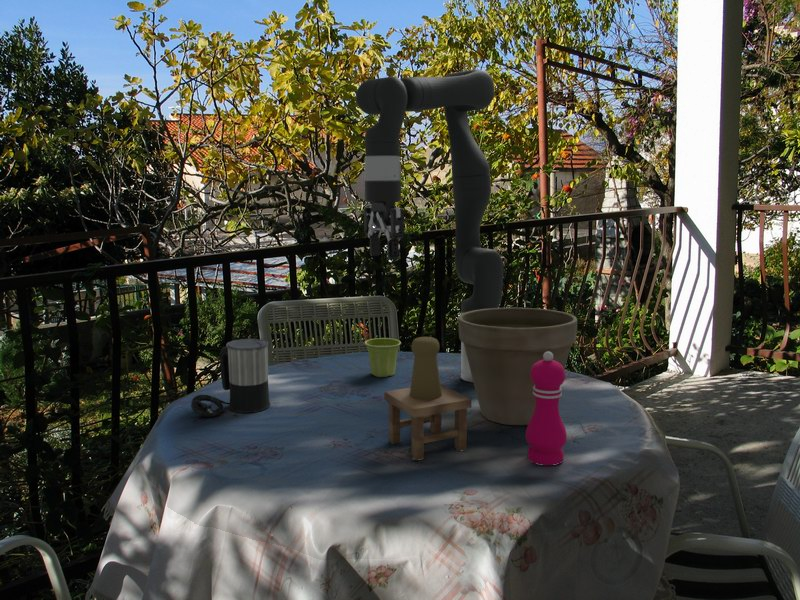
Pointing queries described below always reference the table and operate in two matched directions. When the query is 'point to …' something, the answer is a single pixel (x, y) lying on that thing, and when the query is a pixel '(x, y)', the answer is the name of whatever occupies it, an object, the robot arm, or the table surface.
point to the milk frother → (240, 378)
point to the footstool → (427, 418)
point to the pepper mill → (546, 413)
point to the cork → (425, 369)
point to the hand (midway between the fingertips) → (383, 257)
